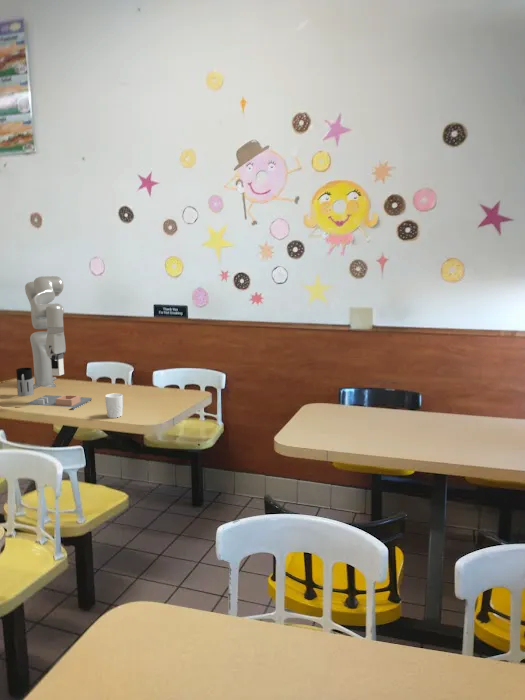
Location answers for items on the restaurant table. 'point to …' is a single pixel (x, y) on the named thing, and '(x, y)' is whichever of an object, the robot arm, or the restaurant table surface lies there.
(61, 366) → the salt shaker
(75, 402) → the board
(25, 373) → the glass holder
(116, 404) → the white cup
